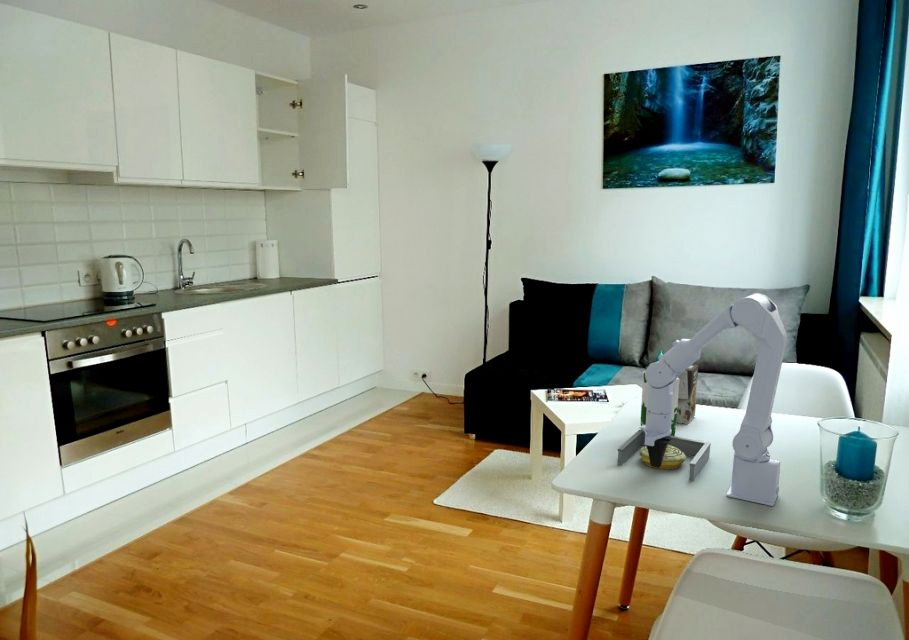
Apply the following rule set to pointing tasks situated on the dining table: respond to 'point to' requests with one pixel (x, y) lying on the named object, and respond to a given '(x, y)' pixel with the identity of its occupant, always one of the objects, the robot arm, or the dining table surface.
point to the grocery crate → (687, 446)
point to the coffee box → (687, 394)
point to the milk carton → (674, 403)
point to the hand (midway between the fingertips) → (655, 465)
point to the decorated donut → (665, 457)
